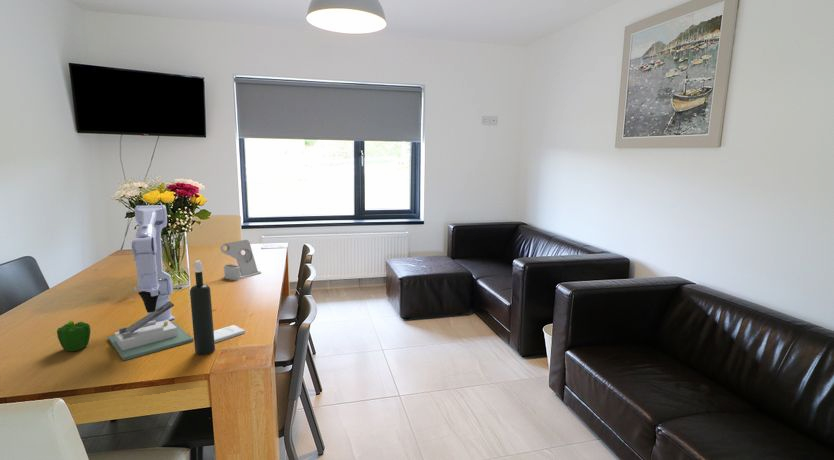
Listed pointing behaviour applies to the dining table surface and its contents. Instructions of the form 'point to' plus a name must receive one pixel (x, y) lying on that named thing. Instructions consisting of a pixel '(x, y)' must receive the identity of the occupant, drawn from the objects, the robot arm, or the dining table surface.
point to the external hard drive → (227, 333)
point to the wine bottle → (202, 314)
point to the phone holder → (240, 260)
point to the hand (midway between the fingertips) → (151, 311)
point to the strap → (148, 317)
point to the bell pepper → (74, 335)
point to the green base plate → (148, 339)
